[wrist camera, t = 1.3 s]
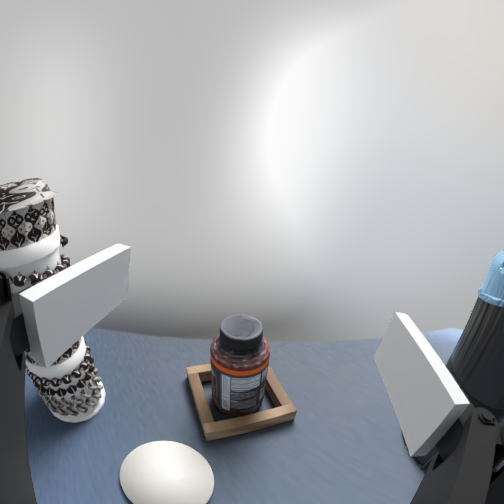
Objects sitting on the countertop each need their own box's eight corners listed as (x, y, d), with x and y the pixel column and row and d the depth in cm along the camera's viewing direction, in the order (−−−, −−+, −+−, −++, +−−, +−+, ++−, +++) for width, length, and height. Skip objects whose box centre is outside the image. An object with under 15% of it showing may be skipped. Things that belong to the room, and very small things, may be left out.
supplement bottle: (213, 380, 33) (212, 305, 28) (261, 381, 33) (270, 308, 29) (210, 417, 27) (206, 343, 23) (264, 419, 27) (277, 346, 23)
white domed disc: (200, 438, 24) (200, 435, 24) (226, 510, 16) (226, 509, 16) (117, 446, 21) (116, 443, 21) (128, 520, 13) (126, 519, 13)
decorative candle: (46, 373, 27) (-6, 183, 18) (106, 368, 31) (69, 170, 22) (42, 425, 20) (-49, 203, 11) (112, 422, 24) (46, 184, 14)
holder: (261, 363, 36) (262, 354, 35) (294, 419, 27) (296, 410, 27) (187, 376, 32) (186, 367, 32) (206, 441, 24) (205, 432, 23)
